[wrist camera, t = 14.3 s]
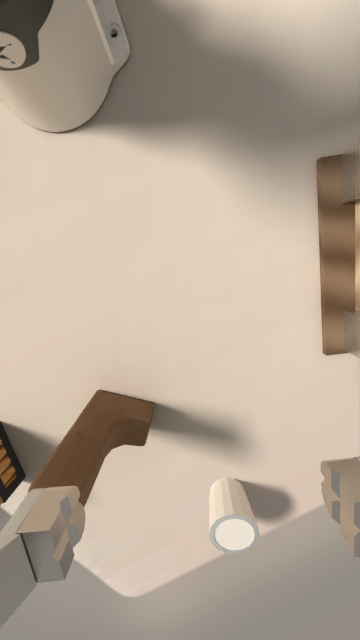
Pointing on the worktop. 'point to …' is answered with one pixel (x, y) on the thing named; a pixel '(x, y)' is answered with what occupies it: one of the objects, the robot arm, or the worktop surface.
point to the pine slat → (357, 253)
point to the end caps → (356, 185)
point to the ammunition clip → (8, 468)
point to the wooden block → (95, 441)
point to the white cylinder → (231, 517)
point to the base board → (335, 253)
